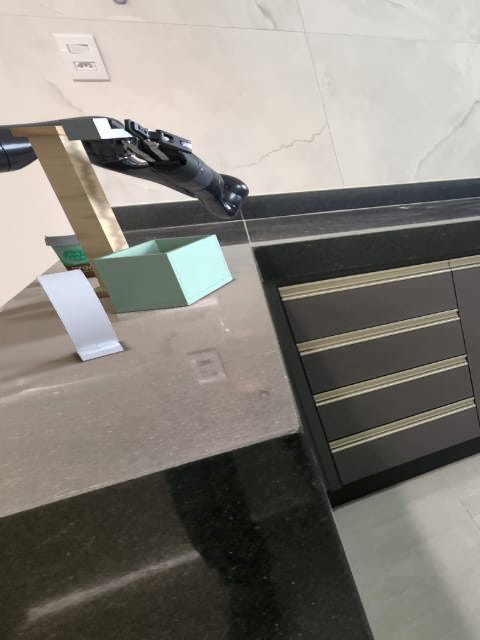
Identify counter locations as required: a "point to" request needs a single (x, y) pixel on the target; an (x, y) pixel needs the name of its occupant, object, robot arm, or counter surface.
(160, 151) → the robot arm
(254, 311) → the counter surface
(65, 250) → the food container
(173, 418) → the counter surface
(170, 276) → the bin
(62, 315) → the white curved stand
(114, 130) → the grey and white block
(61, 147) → the wooden stand
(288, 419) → the counter surface
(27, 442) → the counter surface
